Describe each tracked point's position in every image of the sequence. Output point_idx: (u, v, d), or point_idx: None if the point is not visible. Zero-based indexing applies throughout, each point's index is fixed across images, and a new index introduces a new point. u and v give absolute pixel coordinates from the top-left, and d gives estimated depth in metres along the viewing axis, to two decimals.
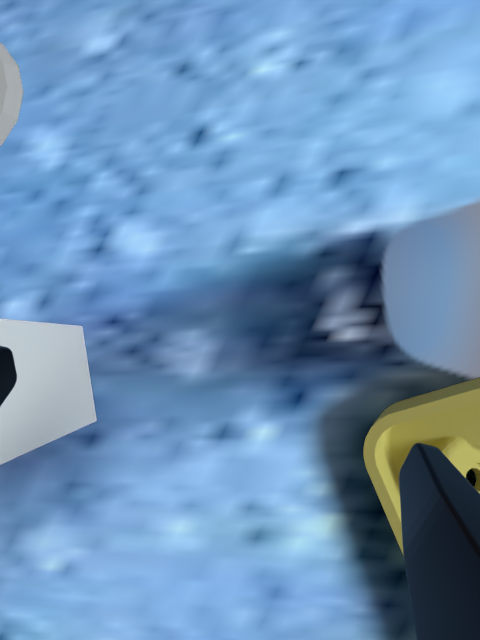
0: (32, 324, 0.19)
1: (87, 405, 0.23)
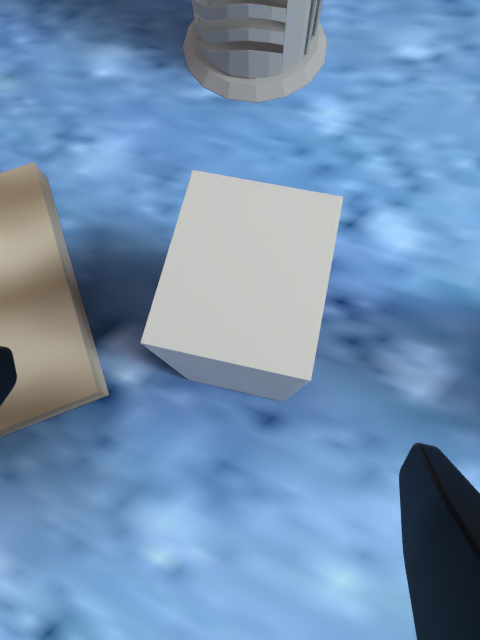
0: None
1: None
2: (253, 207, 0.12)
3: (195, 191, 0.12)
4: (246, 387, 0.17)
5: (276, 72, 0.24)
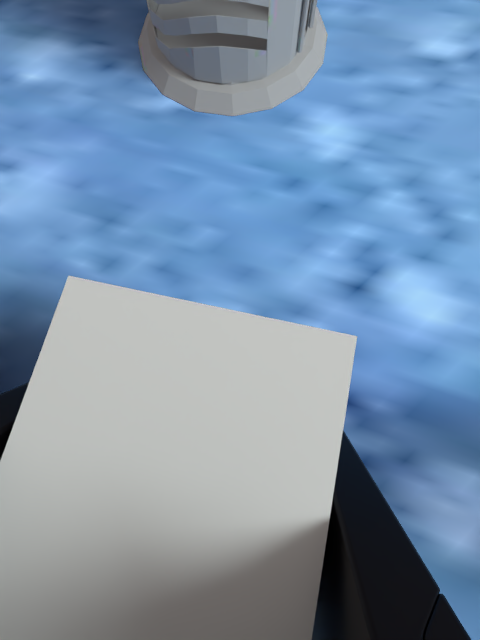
0: None
1: None
2: (179, 357, 0.06)
3: (69, 321, 0.06)
4: None
5: (258, 75, 0.18)
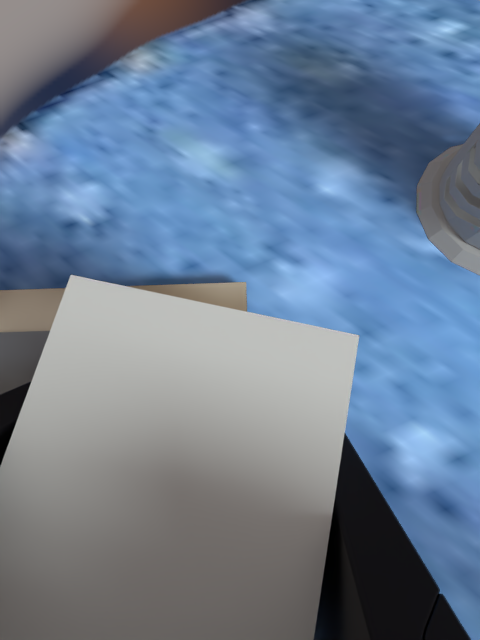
0: None
1: None
2: (182, 356, 0.06)
3: (71, 320, 0.06)
4: None
5: None
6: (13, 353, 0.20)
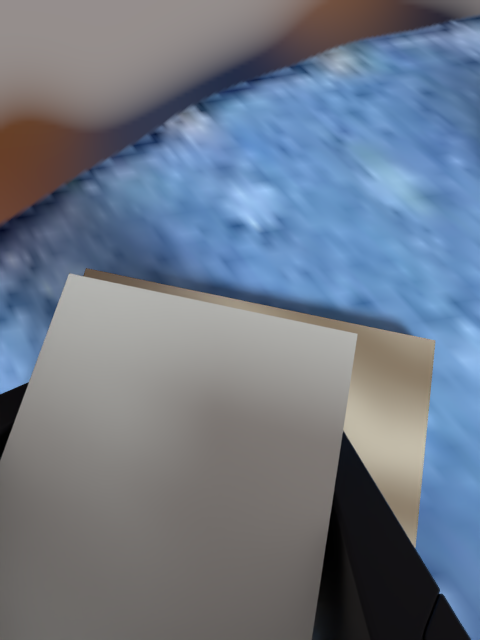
0: None
1: None
2: (180, 354, 0.06)
3: (69, 318, 0.06)
4: None
5: None
6: None
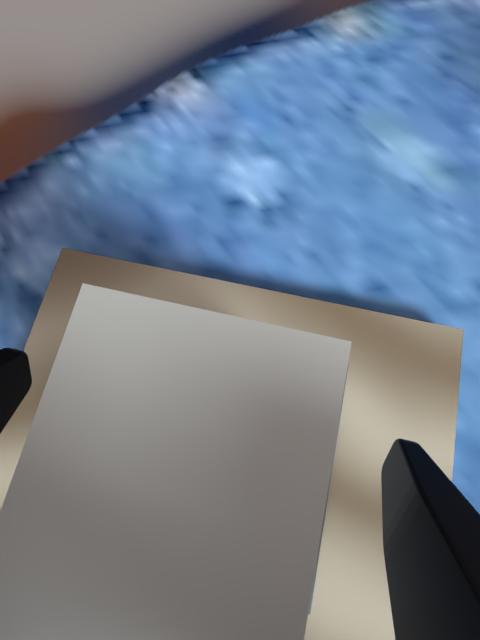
0: None
1: None
2: (186, 360, 0.07)
3: (83, 325, 0.07)
4: None
5: None
6: None
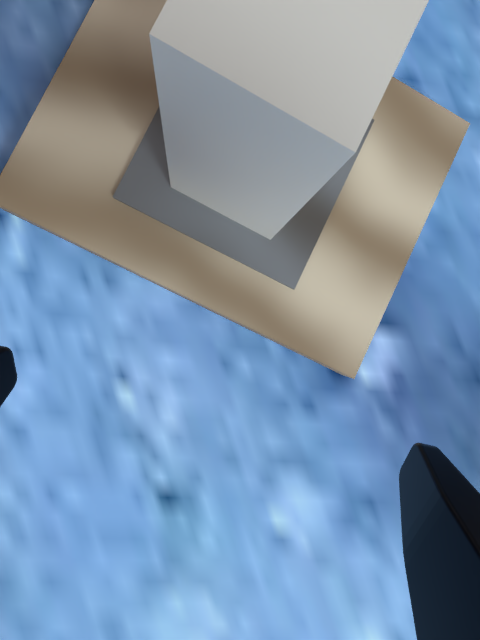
0: None
1: None
2: None
3: None
4: (242, 199, 0.14)
5: None
6: None
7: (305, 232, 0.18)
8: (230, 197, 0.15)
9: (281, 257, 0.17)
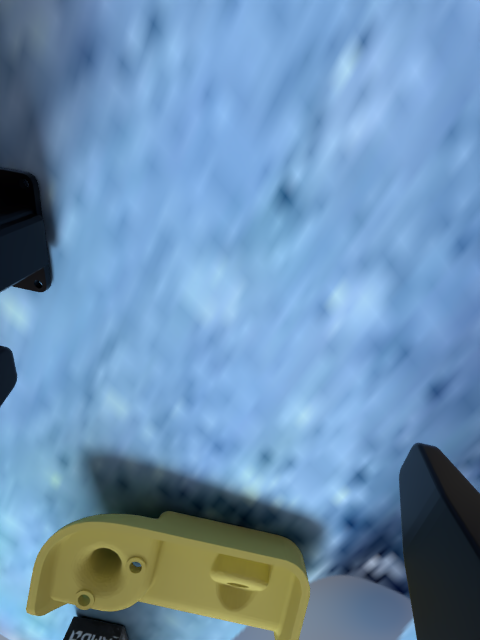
0: None
1: None
2: None
3: None
4: None
5: None
6: None
7: None
8: None
9: None
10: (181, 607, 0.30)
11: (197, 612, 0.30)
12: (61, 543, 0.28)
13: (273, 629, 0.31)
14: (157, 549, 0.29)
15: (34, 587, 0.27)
